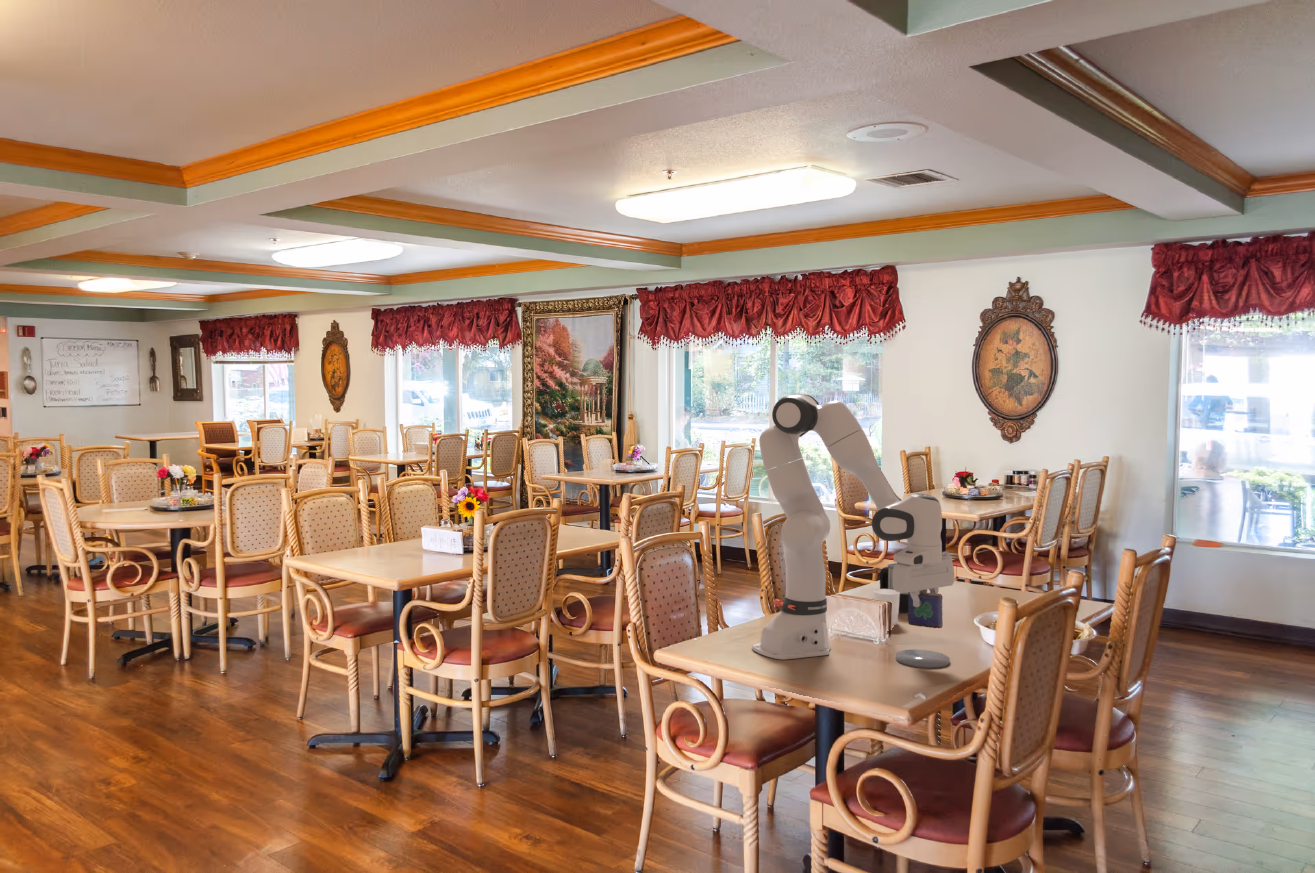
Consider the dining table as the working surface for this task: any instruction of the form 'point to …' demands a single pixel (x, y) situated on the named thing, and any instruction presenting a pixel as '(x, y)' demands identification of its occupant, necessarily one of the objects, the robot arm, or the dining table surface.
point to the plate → (922, 658)
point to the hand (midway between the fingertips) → (924, 605)
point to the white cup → (891, 597)
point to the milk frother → (887, 583)
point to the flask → (926, 610)
